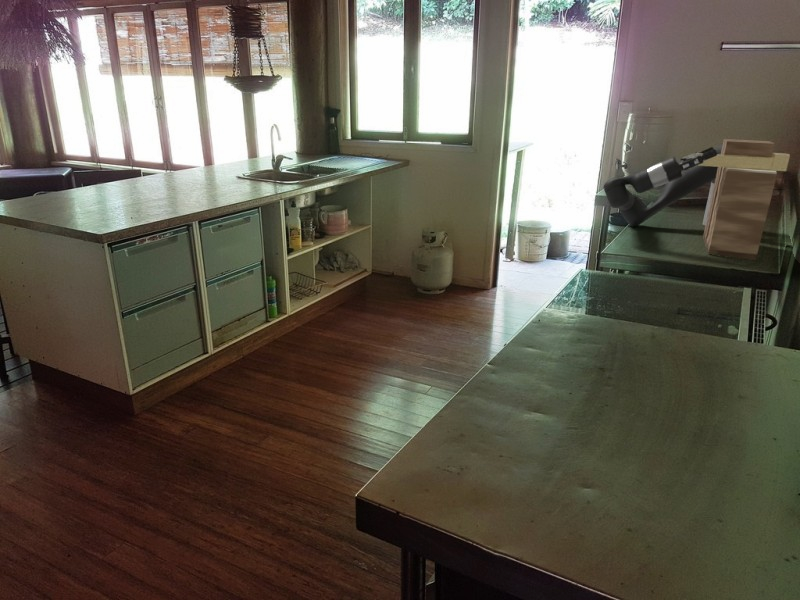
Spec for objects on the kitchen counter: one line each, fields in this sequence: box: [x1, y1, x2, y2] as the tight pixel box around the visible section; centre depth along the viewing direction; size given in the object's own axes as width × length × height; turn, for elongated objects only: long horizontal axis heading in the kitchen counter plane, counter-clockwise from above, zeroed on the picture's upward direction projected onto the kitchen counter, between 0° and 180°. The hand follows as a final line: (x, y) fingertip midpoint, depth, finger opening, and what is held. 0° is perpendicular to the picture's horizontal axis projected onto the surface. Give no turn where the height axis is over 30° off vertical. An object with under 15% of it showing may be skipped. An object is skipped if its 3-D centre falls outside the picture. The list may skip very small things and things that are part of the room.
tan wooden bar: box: [696, 152, 791, 172], centre depth 186 cm, size 5×26×5 cm, turn 67°
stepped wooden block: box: [702, 138, 778, 261], centre depth 195 cm, size 26×14×36 cm, turn 157°
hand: (715, 150), depth 188 cm, fingers open, 8 cm apart
